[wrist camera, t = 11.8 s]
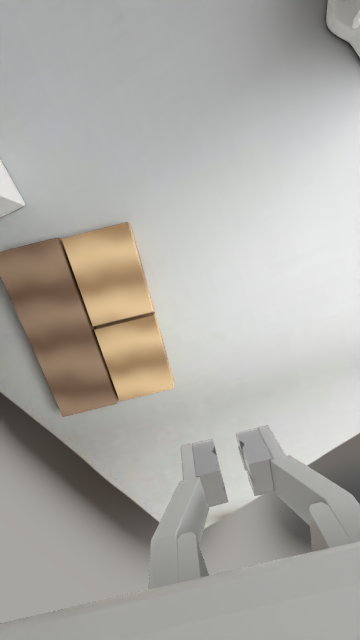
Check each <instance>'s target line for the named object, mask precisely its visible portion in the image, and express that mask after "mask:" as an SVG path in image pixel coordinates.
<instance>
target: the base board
mask: <svg viewBox="0 0 360 640" xmlns="http://www.w3.org/2000/svg"><path fill="white" fill-rule="evenodd" d="M0 276H1V279H2V281H3V283H4V285H5V288H6V290H7V292H8V294H9V297H10V299H11V301H12V303H13V306H14V308H15V310H16V312H17V315H18V317H19V319H20V321H21V324H22V326H23V328H24V330H25V333H26V335H27V337H28V339H29V342H30V344H31V346H32V348H33V351H34V353H35V355H36V357H37V360H38V362H39V364H40V366H41V369H42V371H43V373H44V375H45V378H46V380H47V382H48V384H49V387H50V389H51V391H52V393H53V396H54V398H55V400H56V402H57V405H58V407H59V409H60V411H61V414H62V416H63V417H64V416H69V415H73V414H77V413H81V412H85V411H89V410H93V409H97V408H101V407H105V406H109V405H114V404H117V402H118V399H119V398H118V395H117V392H116V389H115V387H114V384H113V381H112V378H111V375H110V373H109V370H108V367H107V364H106V362H105V359H104V356H103V353H102V350H101V348H100V345H99V342H98V339H97V336H96V334H95V331H94V330H95V329H96V327H95V326H93V325H92V323H91V320H90V317H89V314H88V311H87V309H86V306H85V303H84V300H83V297H82V295H81V292H80V289H79V286H78V283H77V281H76V278H75V275H74V272H73V270H72V267H71V264H70V261H69V258H68V256H67V253H66V250H65V247H64V244H63V242H62V239H60V238H53V239H50V240H46V241H42V242H38V243H34V244H30V245H26V246H22V247H18V248H14V249H10V250H6V251H2V252H0Z"/></svg>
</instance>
